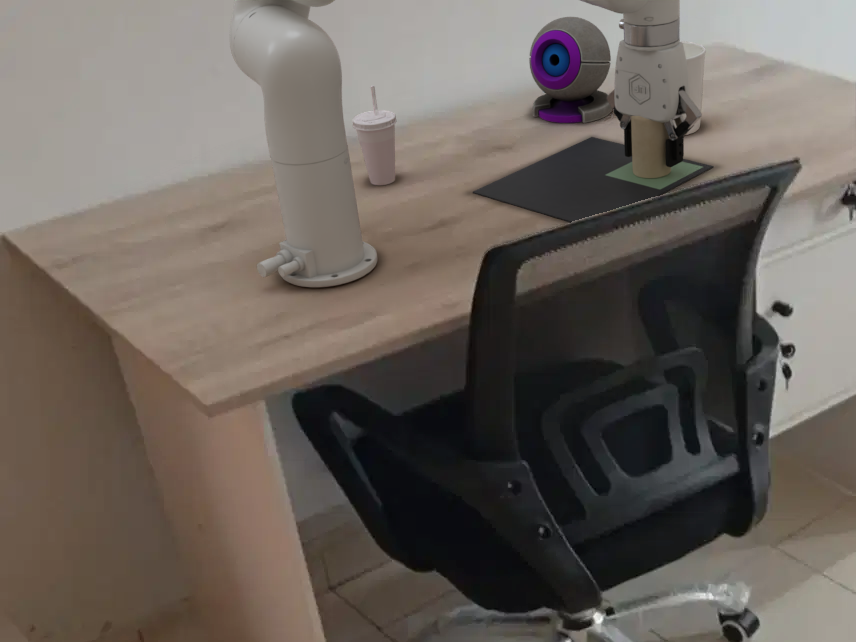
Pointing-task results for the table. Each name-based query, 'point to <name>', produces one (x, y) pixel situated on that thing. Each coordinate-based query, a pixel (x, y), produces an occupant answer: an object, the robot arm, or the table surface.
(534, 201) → the desk pad
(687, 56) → the candle holder
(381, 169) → the smoothie
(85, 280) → the table surface
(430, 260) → the table surface
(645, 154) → the candle
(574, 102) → the webcam
